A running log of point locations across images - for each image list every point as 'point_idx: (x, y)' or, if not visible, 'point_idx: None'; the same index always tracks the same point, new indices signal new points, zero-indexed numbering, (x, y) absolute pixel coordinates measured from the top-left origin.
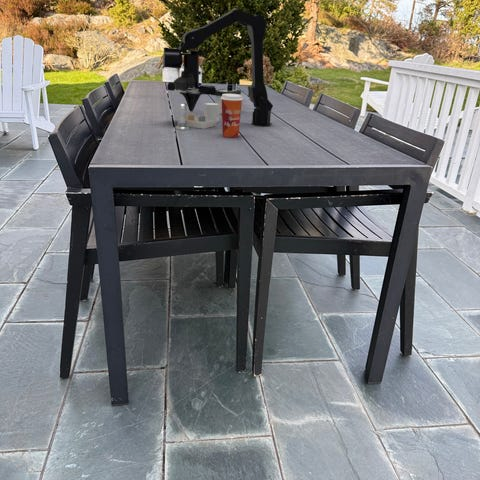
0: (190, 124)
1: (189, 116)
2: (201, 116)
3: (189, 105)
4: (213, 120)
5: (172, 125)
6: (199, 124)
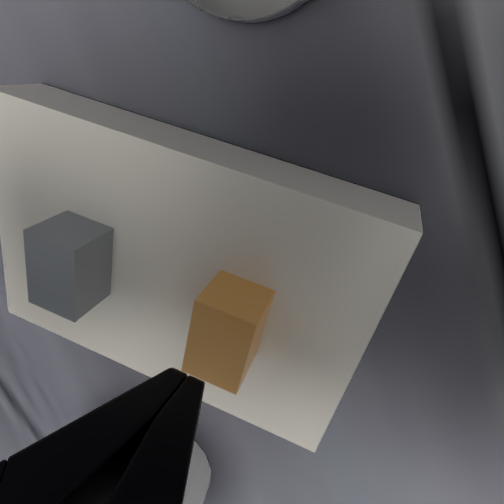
0: (203, 145)
1: (229, 303)
2: (58, 285)
3: (137, 454)
4: (20, 314)
5: (498, 117)
6: (63, 104)
